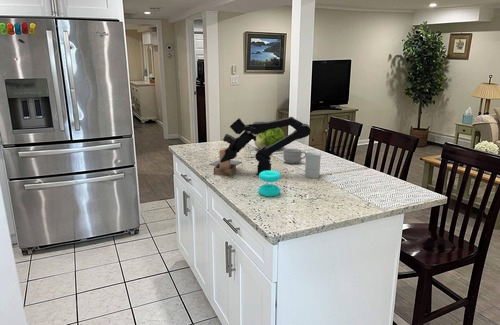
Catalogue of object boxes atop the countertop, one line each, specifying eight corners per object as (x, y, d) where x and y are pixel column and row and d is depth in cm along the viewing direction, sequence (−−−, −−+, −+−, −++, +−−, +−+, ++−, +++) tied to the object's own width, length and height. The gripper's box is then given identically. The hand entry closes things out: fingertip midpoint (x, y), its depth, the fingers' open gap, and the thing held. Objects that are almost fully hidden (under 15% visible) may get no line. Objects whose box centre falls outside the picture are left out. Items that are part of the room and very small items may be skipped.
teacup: (280, 163, 223) (280, 150, 221) (287, 159, 232) (287, 146, 230) (302, 166, 217) (302, 153, 215) (308, 162, 226) (309, 149, 224)
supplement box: (319, 174, 203) (321, 151, 199) (318, 178, 196) (320, 155, 192) (306, 173, 205) (307, 150, 201) (304, 177, 198) (305, 154, 194)
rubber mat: (242, 162, 223) (242, 161, 223) (229, 168, 212) (229, 167, 212) (222, 159, 230) (222, 158, 230) (209, 164, 218) (209, 164, 218)
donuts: (276, 169, 177) (284, 175, 167) (275, 189, 179) (283, 196, 170) (256, 170, 174) (262, 176, 165) (255, 190, 177) (262, 198, 168)
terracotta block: (230, 171, 206) (230, 148, 203) (228, 174, 201) (228, 150, 198) (221, 170, 207) (221, 147, 203) (219, 173, 202) (219, 150, 198)
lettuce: (253, 150, 263) (248, 131, 256) (279, 139, 268) (275, 120, 261) (263, 159, 250) (258, 140, 242) (290, 147, 255) (286, 128, 247)
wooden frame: (235, 170, 208) (236, 164, 207) (232, 175, 198) (232, 169, 197) (217, 169, 209) (217, 163, 209) (213, 174, 200) (213, 168, 199)
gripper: (235, 126, 206) (215, 145, 210) (229, 132, 188) (208, 153, 192) (249, 140, 207) (229, 159, 211) (244, 148, 189) (223, 168, 194)
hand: (222, 159), depth 202 cm, fingers open, 9 cm apart
